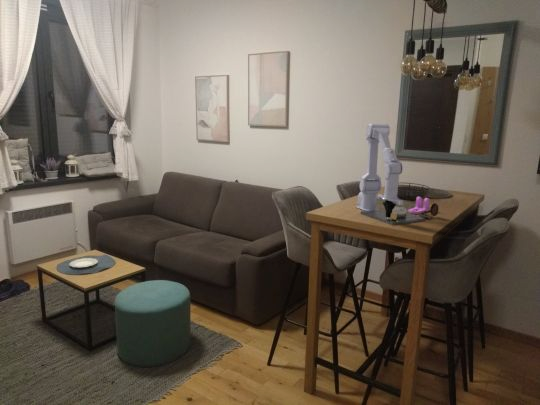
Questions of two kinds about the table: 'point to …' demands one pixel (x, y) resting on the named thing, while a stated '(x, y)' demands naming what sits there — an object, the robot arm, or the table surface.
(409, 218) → the plate
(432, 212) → the compass
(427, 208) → the bracket
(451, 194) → the table surface
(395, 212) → the silver disc with handle
